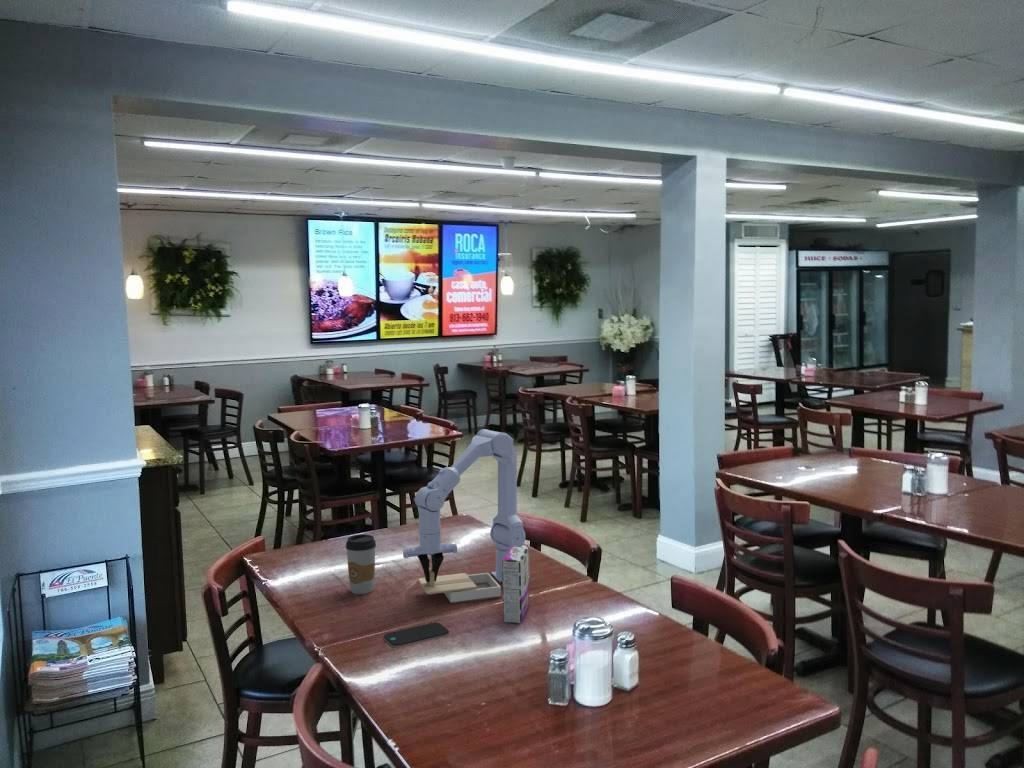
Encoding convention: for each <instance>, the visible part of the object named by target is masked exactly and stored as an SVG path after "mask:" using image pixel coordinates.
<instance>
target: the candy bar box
mask: <svg viewBox="0 0 1024 768" xmlns="http://www.w3.org/2000/svg"><path fill="white" fill-rule="evenodd" d="M528 553H529V547H527V546H526V547H510V549H509V551H508V552H507V554H506V555H505V557H504V558H503V560H502V575H503V582H502V605H503V607H502V610H503V614H502V615H503V623H505V624H522V623H523V621H524V619H525V616H526V615H527V613H528V611H529V608H530V580H529V579H530V578H529V576H530V567H529V568H528Z"/></svg>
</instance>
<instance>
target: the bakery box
mask: <svg viewBox="0 0 1024 768" xmlns="http://www.w3.org/2000/svg"><path fill="white" fill-rule="evenodd" d="M467 575H468V576H469V578H471V580H472V581H473V583H474V584H475V585H476V586H477V588H476V589H468V590H460V591H452V592H444V593H443V594H444V596H445V598H446V599H447V600H448V602H449V603H450V605H453V604H460V603H469V602H476V601H477V602H478V601H485V600H492V599H499V598H501V597H502V589H501V588H502V587H501V585H500V584H499V583H498V582H497V580H495V578H493V577H492V574H490V573H489V572H484V573H483V572H482V573H475V574H467Z"/></svg>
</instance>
